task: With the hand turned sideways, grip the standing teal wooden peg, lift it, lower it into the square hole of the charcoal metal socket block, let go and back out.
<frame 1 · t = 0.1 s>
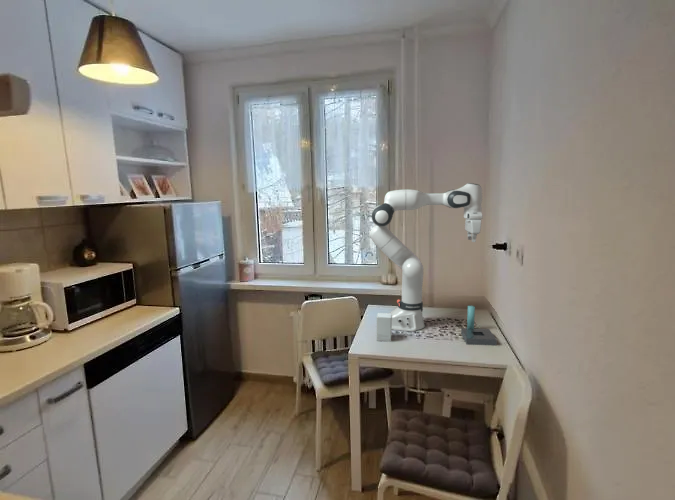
hand: (471, 240, 200), 48 cm above the table, tool pointing down, fingers open, 8 cm apart
supplement box: (384, 339, 194), on the table
socket block: (478, 339, 190), on the table
peg: (470, 329, 203), on the table
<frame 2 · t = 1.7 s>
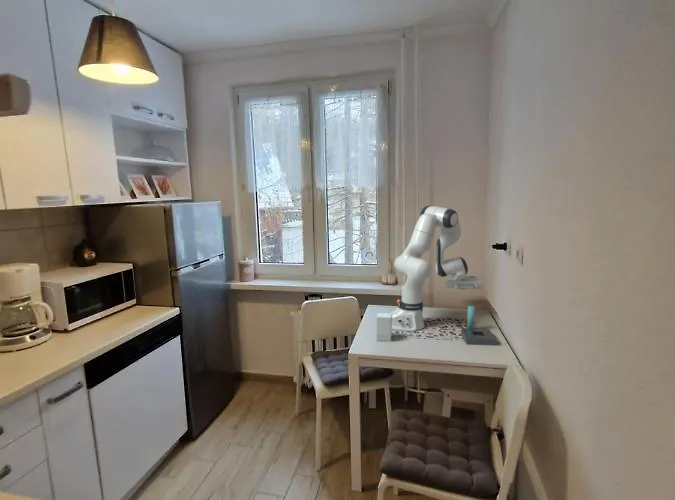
hand: (466, 287, 213), 20 cm above the table, tool horizontal, fingers open, 8 cm apart
nothing on the table moved.
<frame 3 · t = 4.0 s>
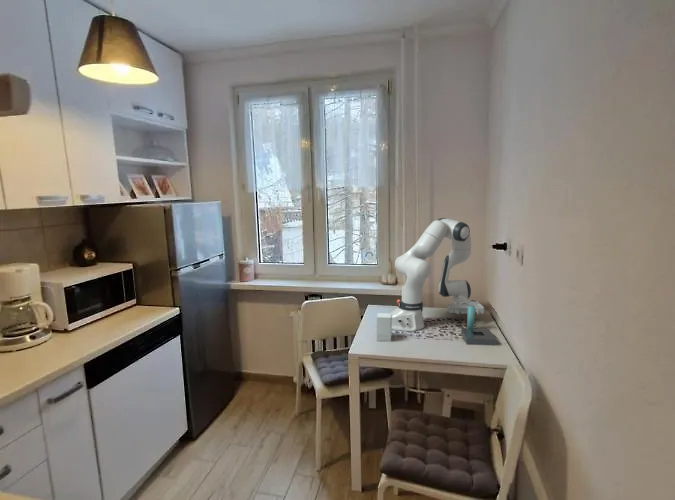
hand: (467, 313, 209), 7 cm above the table, tool horizontal, fingers open, 8 cm apart
nothing on the table moved.
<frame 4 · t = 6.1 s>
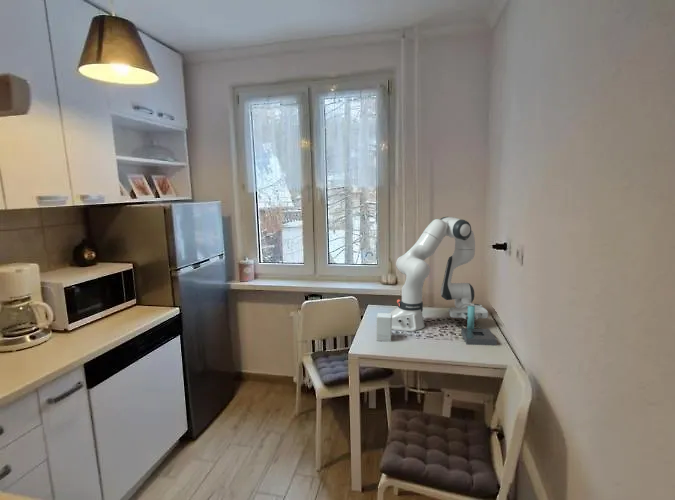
hand: (471, 317, 201), 7 cm above the table, tool horizontal, fingers closed on peg, 4 cm apart
peg: (470, 329, 203), on the table, touching gripper
everything else where it was.
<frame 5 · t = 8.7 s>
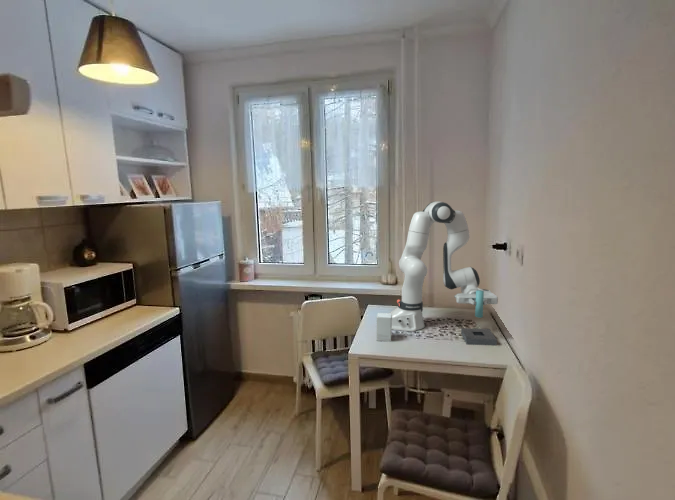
hand: (479, 303, 187), 19 cm above the table, tool horizontal, fingers closed on peg, 4 cm apart
peg: (478, 316, 189), point 12 cm above the table, touching gripper
everything else where it was.
when the fingers open (9 cm above the table, at t = 11.6 s): peg drops 1 cm, resting in socket block.
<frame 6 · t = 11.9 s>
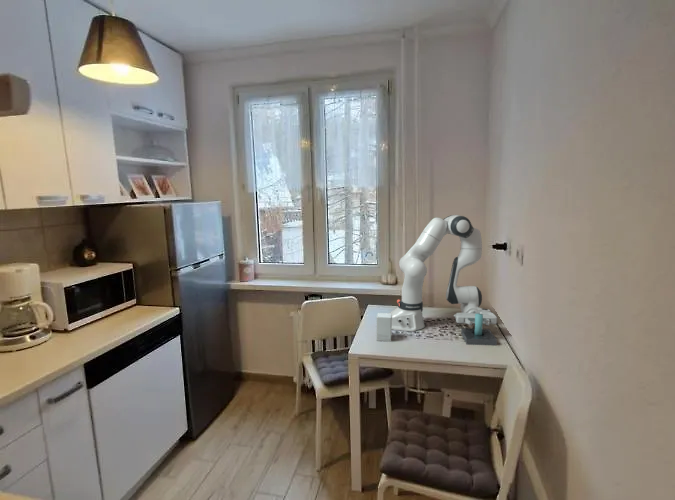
hand: (479, 323, 188), 9 cm above the table, tool horizontal, fingers open, 7 cm apart
peg: (478, 339, 190), resting in socket block
everything else where it was.
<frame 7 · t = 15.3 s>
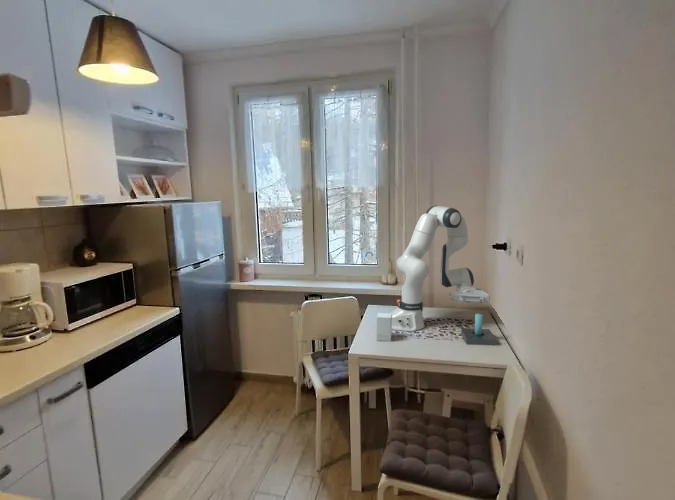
hand: (472, 300, 200), 16 cm above the table, tool horizontal, fingers open, 8 cm apart
nothing on the table moved.
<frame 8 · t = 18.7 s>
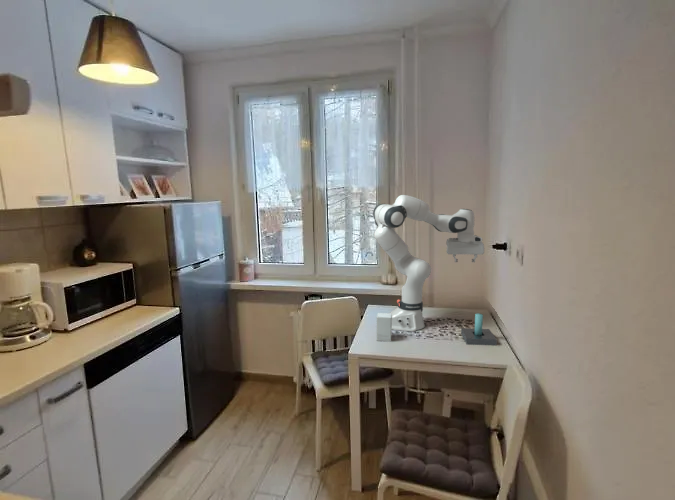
hand: (464, 262, 214), 34 cm above the table, tool pointing down, fingers open, 8 cm apart
nothing on the table moved.
at the end: peg 0.0 cm off-centre on the socket block, point 0.0 cm above the socket block's base; peg tilted 0°; the gripper is holding nothing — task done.
